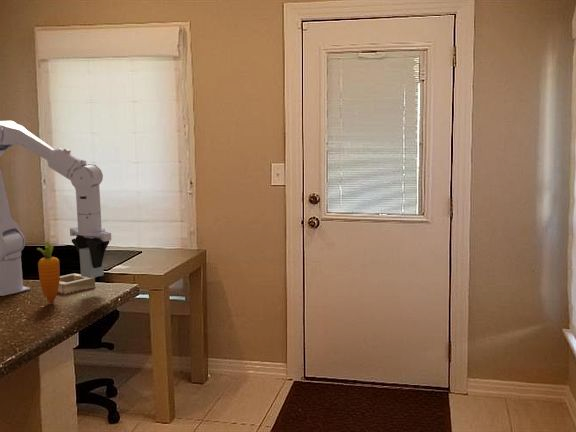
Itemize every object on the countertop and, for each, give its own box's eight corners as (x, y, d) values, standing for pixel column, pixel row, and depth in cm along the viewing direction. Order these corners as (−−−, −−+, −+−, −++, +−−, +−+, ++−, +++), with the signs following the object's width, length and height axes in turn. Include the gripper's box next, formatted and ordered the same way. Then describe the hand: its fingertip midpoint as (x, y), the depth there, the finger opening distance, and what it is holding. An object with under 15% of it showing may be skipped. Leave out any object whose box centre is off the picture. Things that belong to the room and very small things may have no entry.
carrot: (55, 306, 154) (51, 244, 152) (36, 305, 155) (31, 244, 153) (66, 301, 159) (62, 241, 157) (47, 300, 160) (43, 240, 158)
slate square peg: (80, 276, 165) (79, 249, 164) (94, 273, 168) (92, 246, 167) (90, 278, 162) (88, 250, 161) (103, 275, 165) (102, 248, 164)
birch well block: (45, 288, 171) (45, 279, 171) (75, 282, 178) (74, 273, 178) (65, 294, 165) (64, 284, 165) (95, 286, 172) (94, 277, 172)
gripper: (120, 213, 161) (122, 266, 163) (85, 209, 170) (88, 259, 172) (96, 217, 156) (99, 272, 158) (61, 212, 165) (64, 264, 167)
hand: (91, 266), depth 165 cm, fingers closed on slate square peg, 4 cm apart
